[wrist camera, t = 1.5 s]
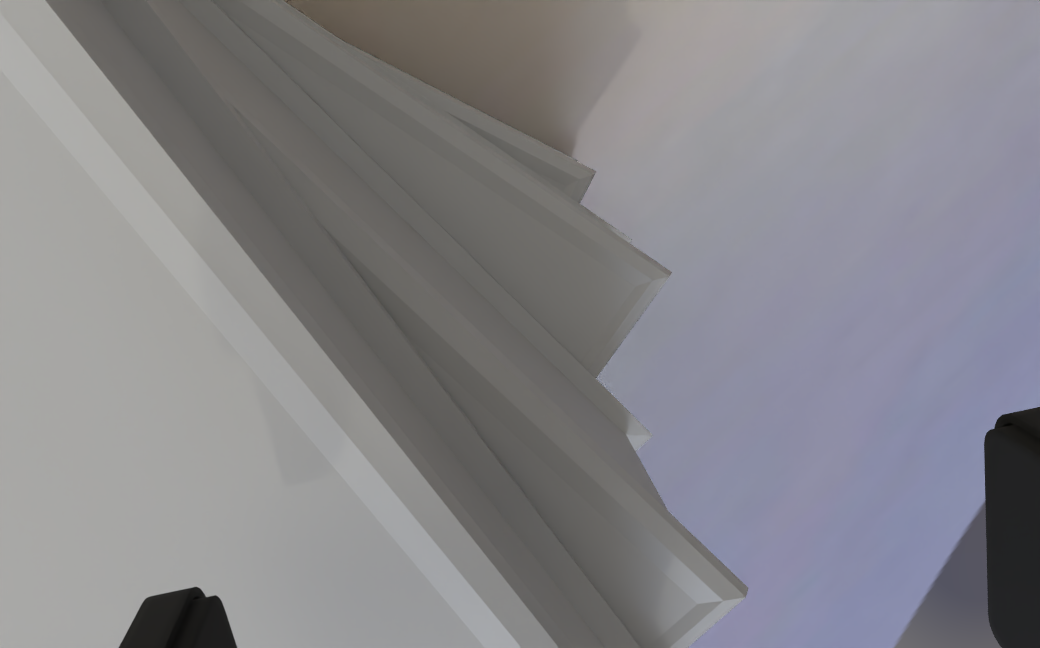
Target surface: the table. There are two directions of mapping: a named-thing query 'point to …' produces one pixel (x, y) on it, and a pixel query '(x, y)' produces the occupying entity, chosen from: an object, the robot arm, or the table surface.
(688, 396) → the table surface
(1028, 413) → the robot arm
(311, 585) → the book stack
